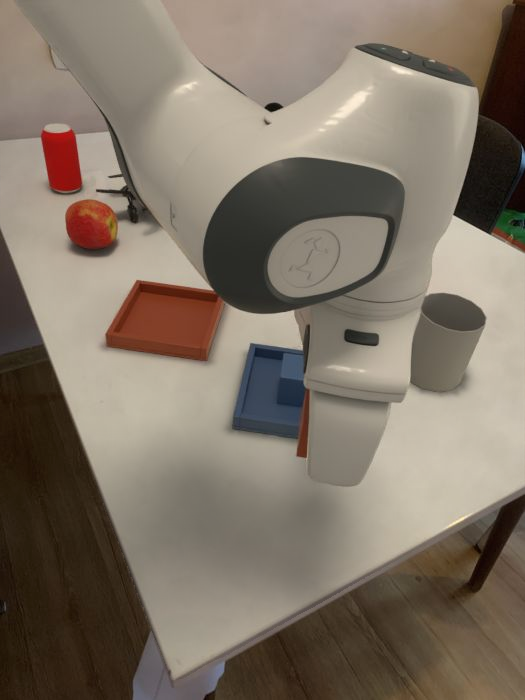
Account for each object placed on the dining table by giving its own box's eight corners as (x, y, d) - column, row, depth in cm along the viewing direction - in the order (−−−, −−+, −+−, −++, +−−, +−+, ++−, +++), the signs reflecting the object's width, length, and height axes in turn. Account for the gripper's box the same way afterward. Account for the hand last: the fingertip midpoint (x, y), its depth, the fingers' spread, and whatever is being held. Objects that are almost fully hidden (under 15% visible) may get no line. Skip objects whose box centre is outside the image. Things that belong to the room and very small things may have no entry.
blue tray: (232, 428, 63) (233, 416, 62) (249, 354, 73) (250, 342, 72) (348, 446, 62) (351, 434, 61) (348, 369, 73) (351, 357, 71)
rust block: (296, 456, 47) (303, 421, 44) (299, 419, 51) (306, 384, 48) (347, 464, 47) (357, 430, 44) (347, 427, 50) (357, 392, 48)
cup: (387, 358, 75) (405, 299, 69) (432, 344, 78) (453, 287, 72) (427, 398, 69) (451, 338, 63) (473, 382, 73) (501, 323, 66)
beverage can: (76, 197, 105) (66, 134, 97) (45, 193, 105) (33, 130, 98) (87, 184, 110) (79, 124, 102) (57, 180, 110) (47, 120, 102)
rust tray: (106, 346, 72) (105, 334, 71) (137, 291, 83) (136, 279, 81) (206, 361, 72) (206, 349, 70) (224, 303, 82) (225, 292, 81)
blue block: (276, 403, 66) (280, 376, 63) (279, 379, 69) (283, 352, 66) (312, 409, 66) (318, 382, 63) (314, 384, 69) (319, 357, 66)
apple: (106, 261, 88) (101, 216, 83) (58, 253, 89) (50, 208, 84) (125, 239, 94) (121, 196, 89) (80, 231, 95) (74, 188, 90)
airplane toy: (121, 243, 93) (112, 155, 83) (79, 199, 105) (67, 118, 95) (219, 219, 103) (222, 138, 93) (171, 181, 114) (169, 106, 104)
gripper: (320, 229, 47) (298, 350, 56) (304, 388, 31) (278, 522, 40) (392, 240, 47) (359, 360, 56) (413, 405, 31) (362, 536, 40)
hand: (325, 429), depth 48 cm, fingers closed on rust block, 4 cm apart
